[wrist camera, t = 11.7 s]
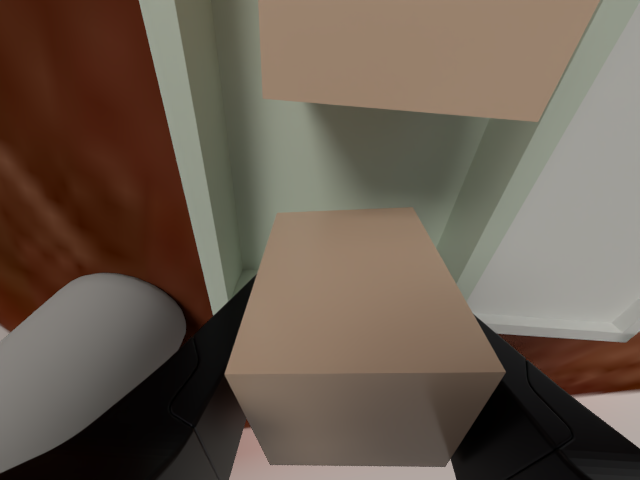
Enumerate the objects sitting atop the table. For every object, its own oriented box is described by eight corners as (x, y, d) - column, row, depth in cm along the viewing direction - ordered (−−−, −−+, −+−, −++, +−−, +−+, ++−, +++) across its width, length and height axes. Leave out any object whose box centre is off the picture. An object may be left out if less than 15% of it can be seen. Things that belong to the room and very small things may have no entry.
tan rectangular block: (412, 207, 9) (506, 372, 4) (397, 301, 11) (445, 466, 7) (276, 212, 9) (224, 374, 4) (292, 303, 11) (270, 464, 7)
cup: (109, 248, 14) (-135, 463, 7) (242, 343, 18) (187, 532, 11) (45, 300, 16) (-185, 498, 9) (177, 373, 21) (96, 543, 14)
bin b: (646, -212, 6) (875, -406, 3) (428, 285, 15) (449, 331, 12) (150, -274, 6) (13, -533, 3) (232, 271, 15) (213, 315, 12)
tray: (1014, -42, 7) (1123, -58, 6) (607, 325, 16) (625, 342, 15) (629, -86, 7) (679, -109, 6) (433, 313, 16) (440, 329, 15)
